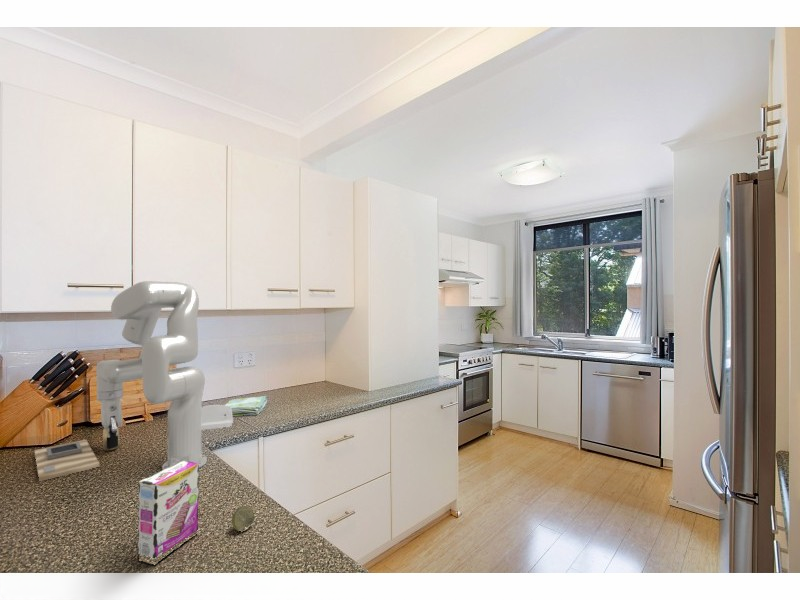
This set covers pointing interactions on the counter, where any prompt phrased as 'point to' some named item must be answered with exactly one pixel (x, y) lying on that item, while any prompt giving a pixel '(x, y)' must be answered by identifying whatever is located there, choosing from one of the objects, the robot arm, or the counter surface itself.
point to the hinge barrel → (106, 439)
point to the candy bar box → (167, 508)
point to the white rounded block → (216, 417)
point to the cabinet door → (64, 459)
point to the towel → (247, 405)
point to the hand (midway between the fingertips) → (111, 445)
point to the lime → (242, 518)
